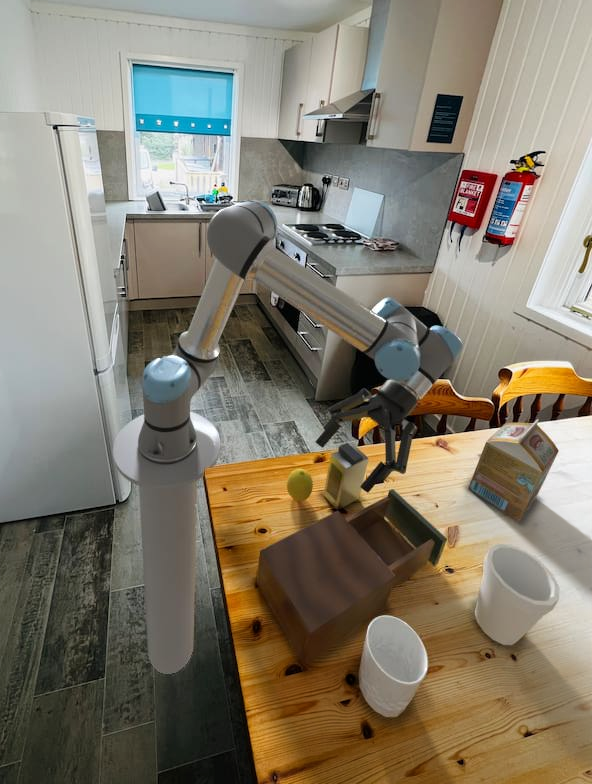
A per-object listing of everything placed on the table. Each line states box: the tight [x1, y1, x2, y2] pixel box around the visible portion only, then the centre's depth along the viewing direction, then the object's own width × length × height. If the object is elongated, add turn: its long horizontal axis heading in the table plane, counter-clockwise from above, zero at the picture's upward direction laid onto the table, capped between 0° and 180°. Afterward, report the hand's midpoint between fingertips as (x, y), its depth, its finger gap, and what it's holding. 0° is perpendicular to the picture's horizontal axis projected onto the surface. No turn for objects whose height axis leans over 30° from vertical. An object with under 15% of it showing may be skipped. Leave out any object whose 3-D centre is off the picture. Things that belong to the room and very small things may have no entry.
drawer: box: [344, 488, 448, 590], centre depth 74 cm, size 18×12×7 cm
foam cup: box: [474, 543, 561, 646], centre depth 64 cm, size 10×9×13 cm
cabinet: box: [255, 510, 396, 667], centre depth 67 cm, size 18×14×9 cm
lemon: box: [286, 468, 314, 502], centre depth 86 cm, size 6×6×8 cm
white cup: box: [357, 615, 429, 718], centre depth 56 cm, size 8×8×10 cm
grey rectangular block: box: [322, 442, 370, 511], centre depth 86 cm, size 5×7×13 cm
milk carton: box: [467, 418, 560, 522], centre depth 88 cm, size 11×11×19 cm
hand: (339, 466), depth 83 cm, fingers open, 13 cm apart
